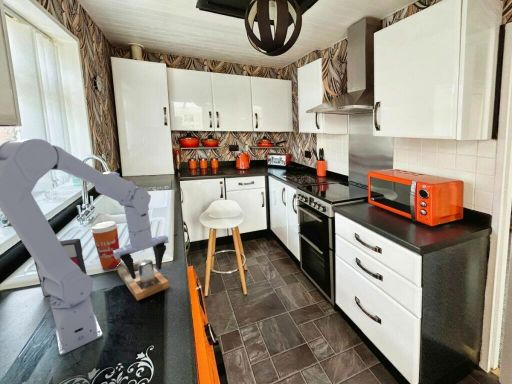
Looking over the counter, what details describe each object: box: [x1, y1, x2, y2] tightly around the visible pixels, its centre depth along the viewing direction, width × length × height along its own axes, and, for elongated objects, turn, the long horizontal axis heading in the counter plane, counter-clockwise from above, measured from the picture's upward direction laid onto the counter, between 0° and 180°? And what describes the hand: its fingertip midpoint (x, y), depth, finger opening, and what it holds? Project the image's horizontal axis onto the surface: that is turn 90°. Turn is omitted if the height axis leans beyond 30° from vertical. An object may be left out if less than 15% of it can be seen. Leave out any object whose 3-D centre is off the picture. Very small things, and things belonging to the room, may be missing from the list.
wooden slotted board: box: [116, 259, 170, 302], centre depth 83 cm, size 20×9×2 cm, turn 40°
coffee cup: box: [90, 220, 122, 270], centre depth 93 cm, size 8×8×15 cm
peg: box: [137, 259, 156, 289], centre depth 78 cm, size 4×4×8 cm
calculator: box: [33, 238, 88, 297], centre depth 78 cm, size 11×4×15 cm, turn 105°
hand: (146, 272), depth 78 cm, fingers open, 7 cm apart
